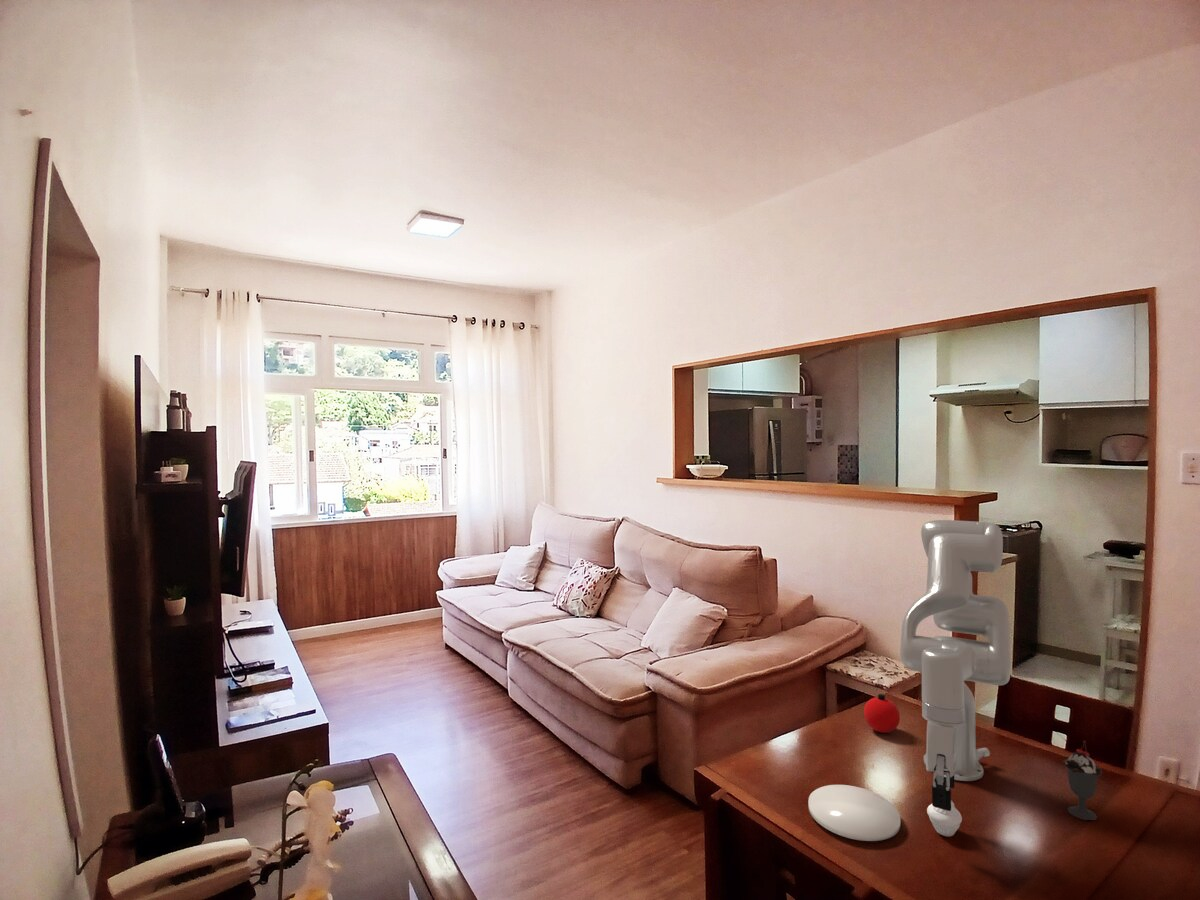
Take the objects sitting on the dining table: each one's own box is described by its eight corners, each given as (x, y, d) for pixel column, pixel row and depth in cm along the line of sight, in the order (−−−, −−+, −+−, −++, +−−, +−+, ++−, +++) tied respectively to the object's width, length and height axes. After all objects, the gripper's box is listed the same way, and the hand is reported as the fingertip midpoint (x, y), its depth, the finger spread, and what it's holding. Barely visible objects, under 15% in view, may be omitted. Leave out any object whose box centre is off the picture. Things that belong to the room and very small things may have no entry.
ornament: (883, 741, 162) (883, 704, 162) (856, 727, 170) (856, 691, 170) (907, 734, 166) (907, 697, 166) (879, 721, 174) (879, 685, 174)
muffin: (960, 826, 126) (959, 792, 126) (963, 844, 121) (963, 809, 121) (926, 819, 129) (925, 786, 129) (928, 836, 123) (927, 802, 123)
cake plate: (858, 786, 141) (858, 778, 141) (921, 833, 124) (920, 824, 124) (791, 802, 136) (791, 793, 136) (847, 853, 119) (847, 843, 119)
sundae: (1094, 807, 132) (1093, 738, 132) (1108, 826, 125) (1107, 753, 125) (1057, 802, 134) (1057, 733, 134) (1069, 820, 128) (1069, 748, 127)
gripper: (926, 694, 133) (927, 773, 133) (917, 722, 119) (918, 811, 119) (966, 701, 129) (967, 783, 129) (962, 731, 115) (962, 824, 115)
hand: (943, 796), depth 124 cm, fingers open, 9 cm apart
